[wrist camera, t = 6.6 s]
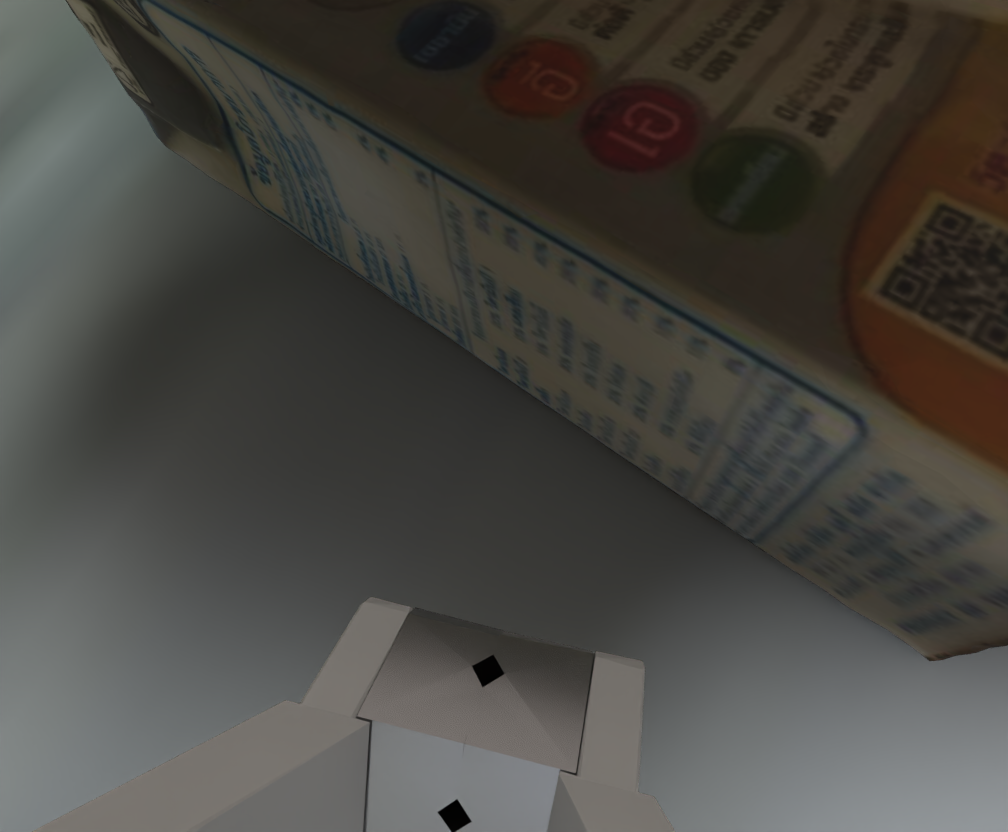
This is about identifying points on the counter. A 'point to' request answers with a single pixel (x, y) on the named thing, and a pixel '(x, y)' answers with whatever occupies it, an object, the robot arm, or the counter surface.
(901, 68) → the beverage carton
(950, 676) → the counter surface
